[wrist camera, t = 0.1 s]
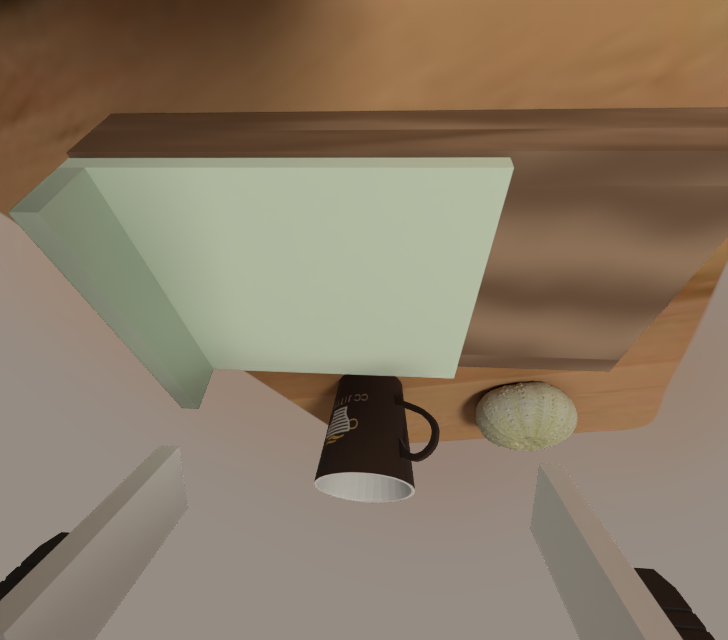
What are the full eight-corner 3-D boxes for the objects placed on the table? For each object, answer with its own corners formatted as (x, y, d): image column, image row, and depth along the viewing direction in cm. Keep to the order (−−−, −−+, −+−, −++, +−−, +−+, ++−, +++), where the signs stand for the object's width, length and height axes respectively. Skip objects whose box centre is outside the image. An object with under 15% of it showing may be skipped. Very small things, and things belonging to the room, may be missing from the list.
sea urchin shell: (466, 396, 35) (546, 455, 31) (517, 343, 38) (599, 391, 33) (466, 435, 42) (531, 489, 37) (510, 389, 45) (576, 434, 40)
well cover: (68, 158, 16) (7, 212, 14) (510, 157, 15) (531, 217, 13) (201, 359, 29) (181, 408, 26) (452, 368, 27) (457, 420, 25)
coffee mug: (347, 409, 43) (338, 503, 37) (314, 369, 37) (296, 475, 31) (450, 397, 39) (459, 500, 33) (432, 352, 33) (439, 467, 27)
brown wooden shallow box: (110, 113, 19) (66, 152, 17) (743, 107, 17) (802, 150, 15) (217, 316, 31) (200, 356, 29) (591, 327, 29) (609, 371, 27)
